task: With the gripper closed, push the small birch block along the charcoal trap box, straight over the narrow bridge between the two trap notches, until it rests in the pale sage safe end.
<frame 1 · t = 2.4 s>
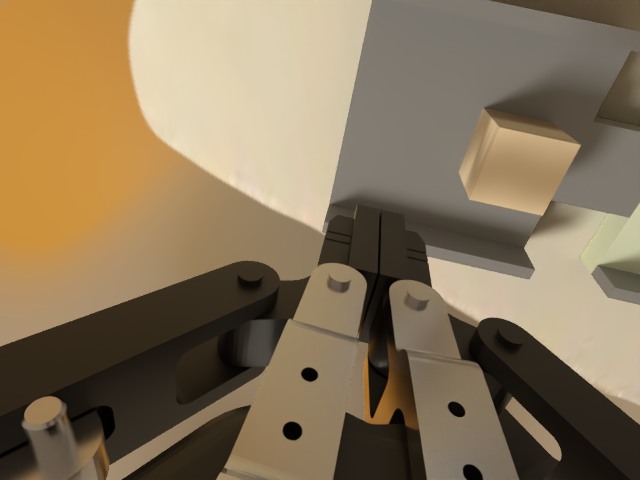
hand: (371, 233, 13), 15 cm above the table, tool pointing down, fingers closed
birch block: (503, 148, 24), point 2 cm above the table, touching trap box
trap box: (550, 150, 26), on the table
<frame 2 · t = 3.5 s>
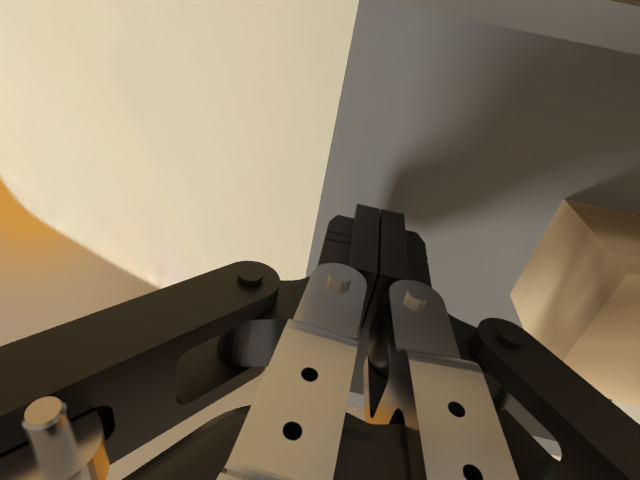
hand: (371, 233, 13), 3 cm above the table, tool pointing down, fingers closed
birch block: (593, 263, 14), point 2 cm above the table, touching trap box
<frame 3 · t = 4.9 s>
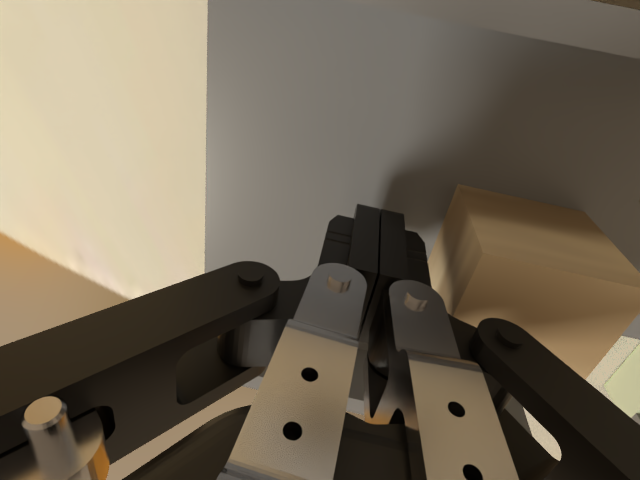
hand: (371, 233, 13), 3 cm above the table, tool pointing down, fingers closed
birch block: (495, 249, 14), point 2 cm above the table, touching gripper, trap box
trap box: (558, 234, 15), on the table
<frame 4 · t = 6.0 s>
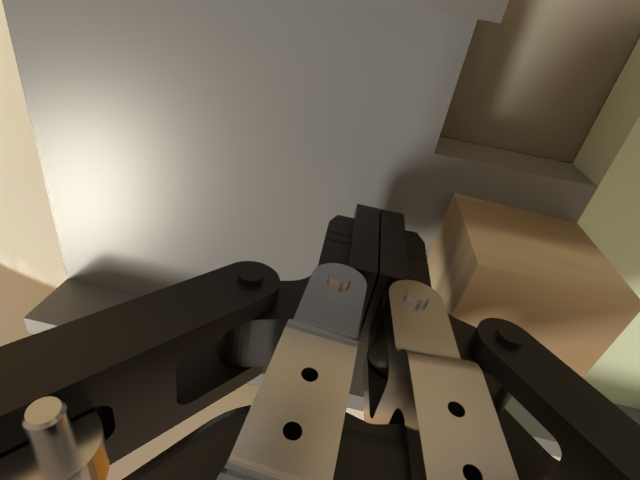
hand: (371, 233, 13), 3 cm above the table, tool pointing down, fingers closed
birch block: (489, 257, 14), point 2 cm above the table, touching gripper, trap box
trap box: (396, 195, 15), on the table
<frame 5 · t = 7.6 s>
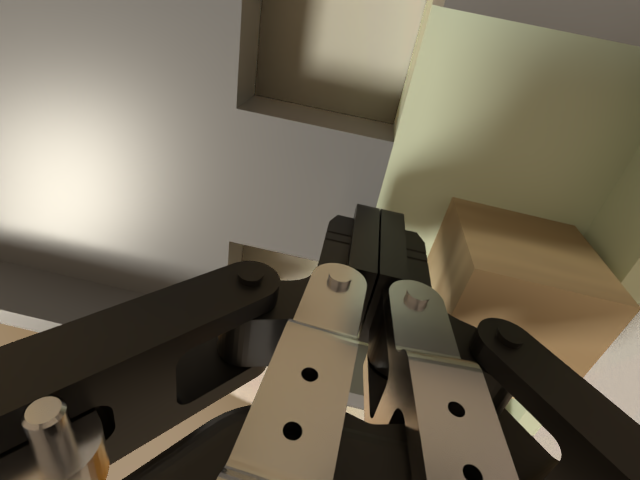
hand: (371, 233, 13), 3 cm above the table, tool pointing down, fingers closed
birch block: (487, 260, 14), point 2 cm above the table, touching gripper, trap box
trap box: (236, 158, 16), on the table
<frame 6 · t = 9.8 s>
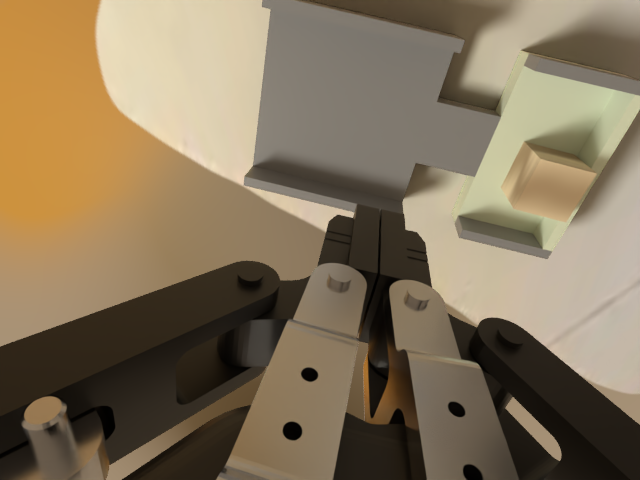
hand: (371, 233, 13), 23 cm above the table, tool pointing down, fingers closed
birch block: (536, 171, 32), point 2 cm above the table, touching trap box
trap box: (418, 125, 33), on the table
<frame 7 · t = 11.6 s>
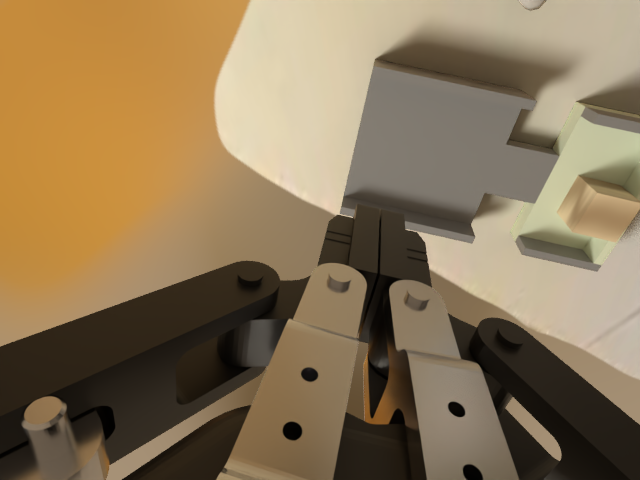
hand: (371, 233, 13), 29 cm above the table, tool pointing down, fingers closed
birch block: (587, 198, 38), point 2 cm above the table, touching trap box
trap box: (485, 161, 40), on the table
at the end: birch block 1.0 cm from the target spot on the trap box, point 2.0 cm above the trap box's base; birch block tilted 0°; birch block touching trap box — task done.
